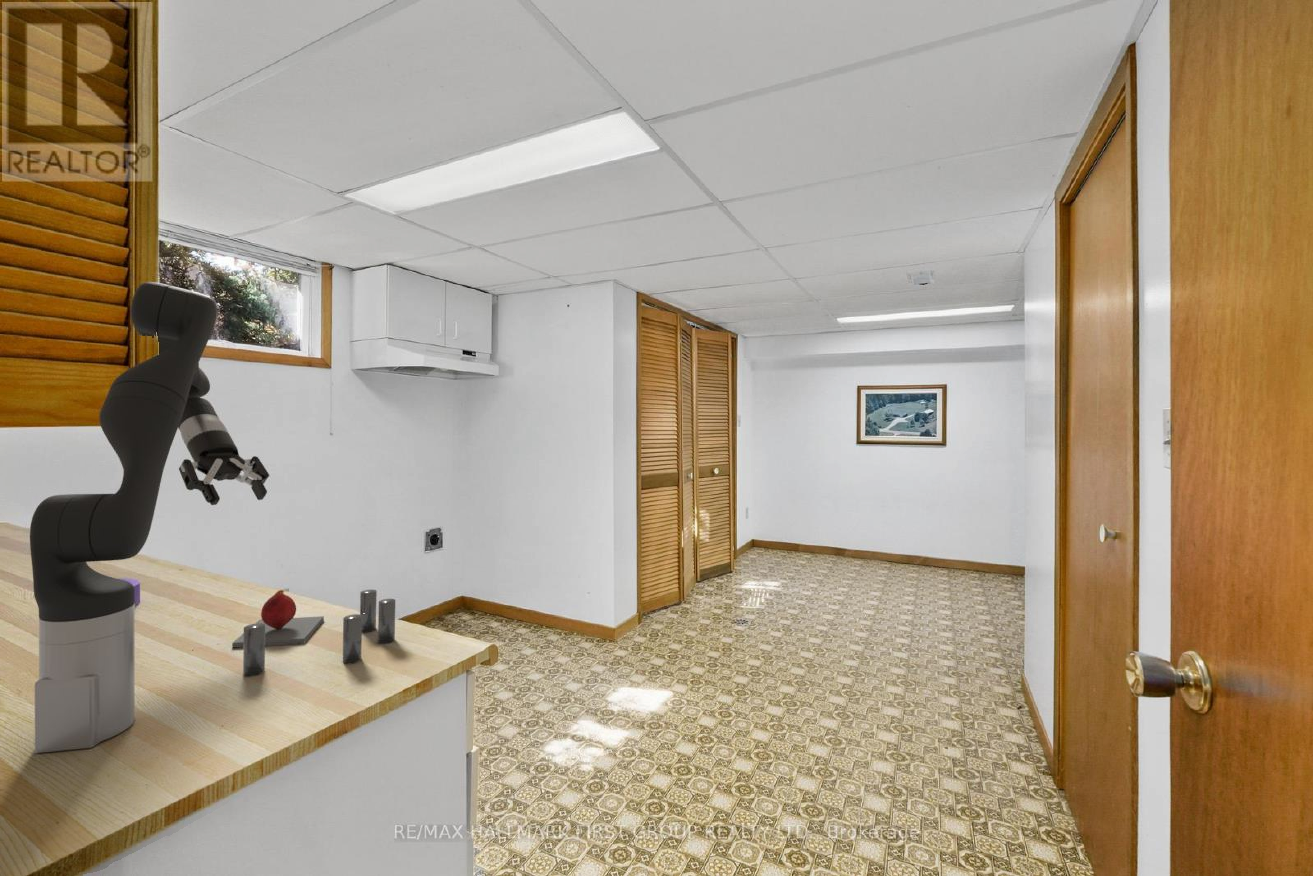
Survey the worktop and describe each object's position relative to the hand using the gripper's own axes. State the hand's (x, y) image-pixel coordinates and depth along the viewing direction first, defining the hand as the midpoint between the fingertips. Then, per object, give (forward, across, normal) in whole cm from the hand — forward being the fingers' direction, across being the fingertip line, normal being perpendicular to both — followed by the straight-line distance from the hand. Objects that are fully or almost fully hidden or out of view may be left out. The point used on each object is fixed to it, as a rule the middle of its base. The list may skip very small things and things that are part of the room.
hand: (240, 499), depth 112 cm
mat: (+26, +3, +12) cm, 28 cm away
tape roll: (-7, -7, +45) cm, 46 cm away
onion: (+25, +2, +12) cm, 28 cm away
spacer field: (+36, +3, +2) cm, 36 cm away
